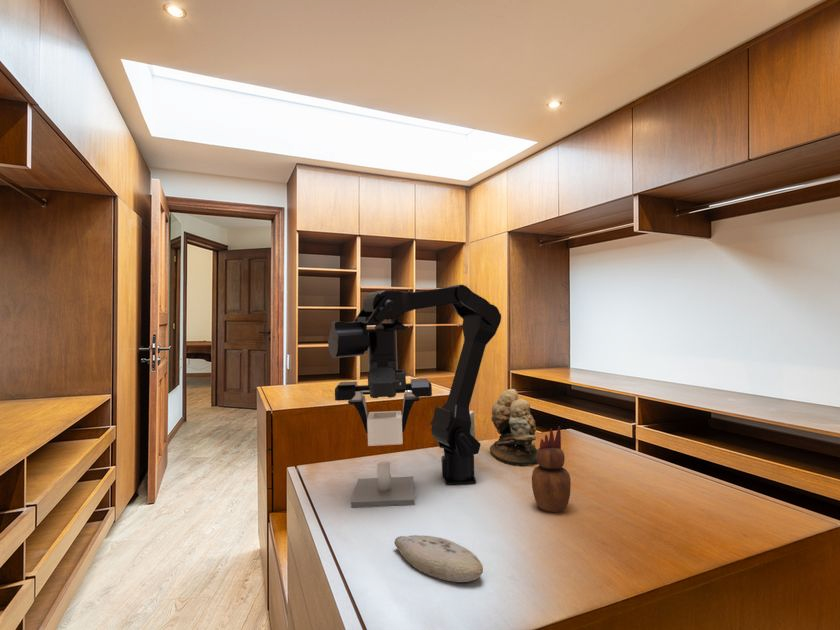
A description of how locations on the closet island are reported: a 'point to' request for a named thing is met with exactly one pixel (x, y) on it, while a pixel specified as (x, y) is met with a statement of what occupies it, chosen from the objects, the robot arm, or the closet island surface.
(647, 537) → the closet island surface
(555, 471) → the wooden figurine
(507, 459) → the owl figurine
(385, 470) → the post stand
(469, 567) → the decorative stone
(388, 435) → the collar
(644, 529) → the closet island surface
